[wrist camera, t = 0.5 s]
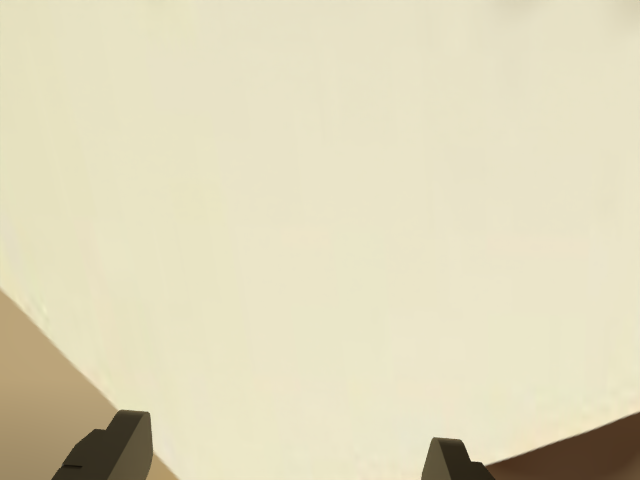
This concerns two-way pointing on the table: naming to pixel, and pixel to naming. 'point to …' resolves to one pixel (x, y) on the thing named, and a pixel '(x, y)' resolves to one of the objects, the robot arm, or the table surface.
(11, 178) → the table surface
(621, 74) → the table surface
